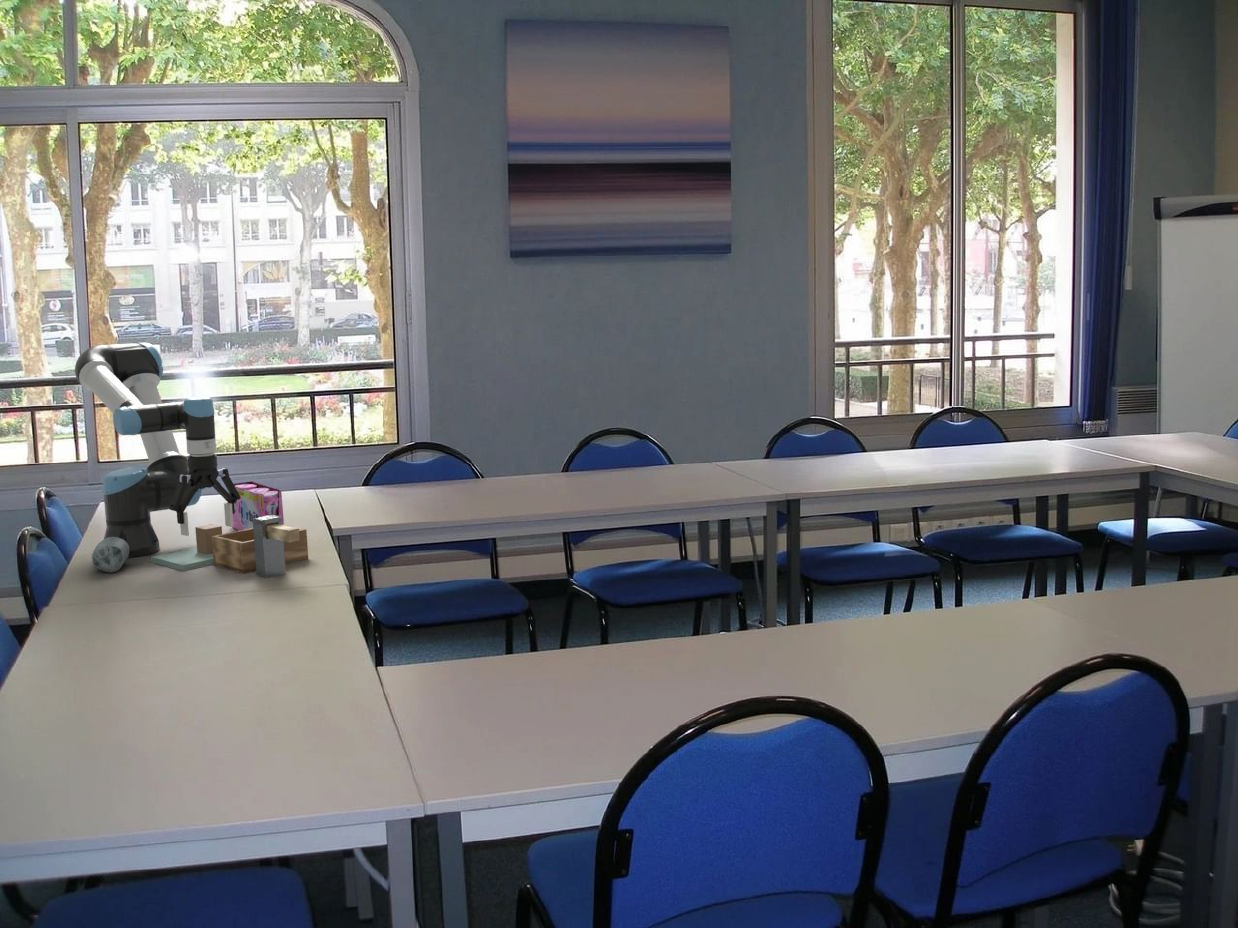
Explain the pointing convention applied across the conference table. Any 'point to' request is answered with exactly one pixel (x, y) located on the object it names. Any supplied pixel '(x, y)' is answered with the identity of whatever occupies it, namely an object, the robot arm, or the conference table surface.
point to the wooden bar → (282, 532)
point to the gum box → (255, 504)
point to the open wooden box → (251, 550)
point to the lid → (192, 551)
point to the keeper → (268, 548)
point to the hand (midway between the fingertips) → (207, 530)
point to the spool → (110, 554)
